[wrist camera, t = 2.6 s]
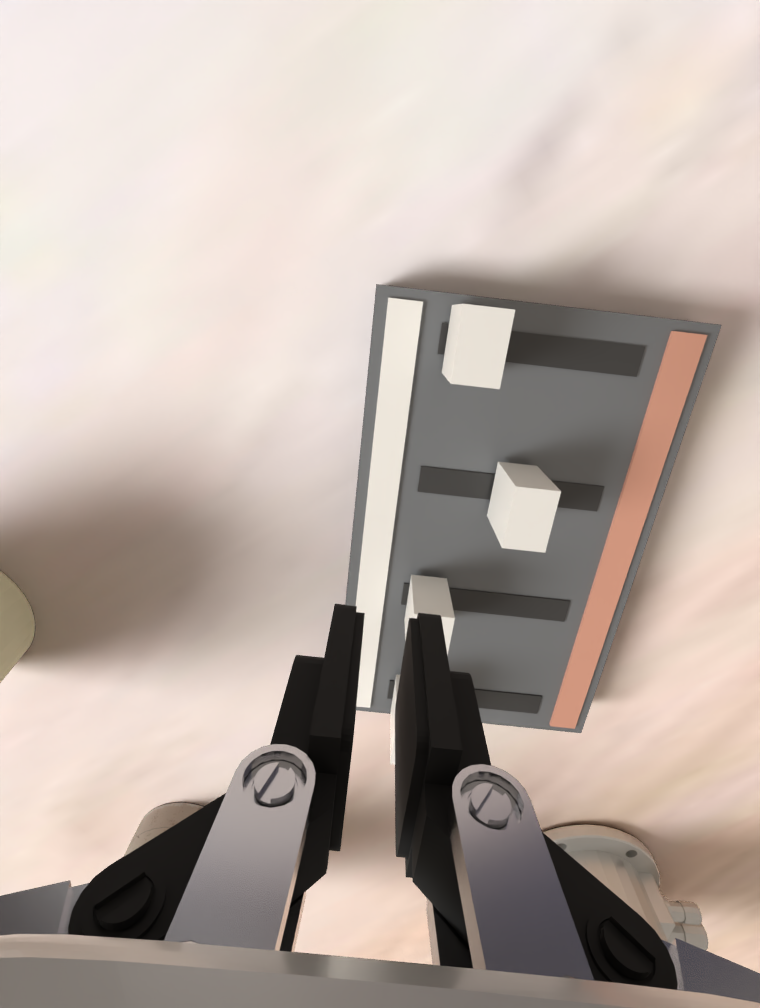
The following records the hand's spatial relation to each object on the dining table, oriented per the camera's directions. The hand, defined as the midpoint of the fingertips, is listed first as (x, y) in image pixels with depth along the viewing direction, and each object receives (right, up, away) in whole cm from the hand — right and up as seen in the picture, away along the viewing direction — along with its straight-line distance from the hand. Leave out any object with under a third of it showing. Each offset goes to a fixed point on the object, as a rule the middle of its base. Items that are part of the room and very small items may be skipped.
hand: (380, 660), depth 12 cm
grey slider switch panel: (+6, +2, +17) cm, 19 cm away
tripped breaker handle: (+7, +4, +13) cm, 16 cm away
